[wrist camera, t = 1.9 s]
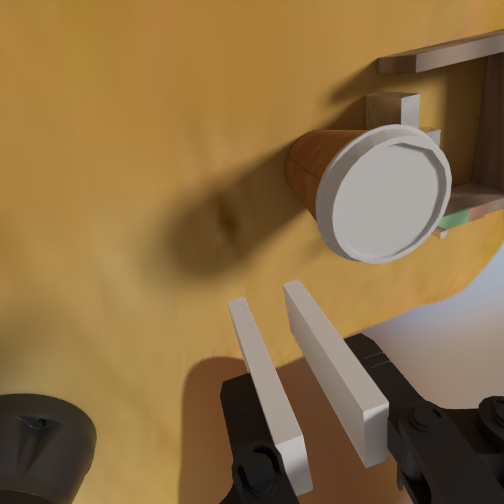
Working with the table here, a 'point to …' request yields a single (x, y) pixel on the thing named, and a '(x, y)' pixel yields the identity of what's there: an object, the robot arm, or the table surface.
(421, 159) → the disposable coffee cup
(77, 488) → the robot arm
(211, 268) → the table surface
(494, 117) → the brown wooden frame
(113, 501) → the table surface
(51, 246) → the table surface
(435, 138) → the gauge plunger
